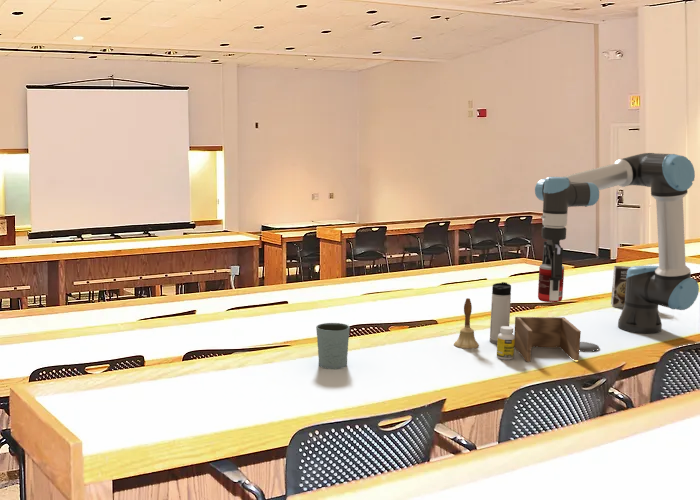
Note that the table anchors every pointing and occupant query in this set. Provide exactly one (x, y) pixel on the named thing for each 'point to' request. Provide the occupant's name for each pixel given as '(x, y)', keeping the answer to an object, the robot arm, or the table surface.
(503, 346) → the supplement bottle
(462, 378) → the table surface
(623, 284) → the coffee box
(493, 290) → the travel mug
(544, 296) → the canned food
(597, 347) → the slate coaster
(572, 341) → the walnut u-shaped bracket
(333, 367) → the grey-green cup
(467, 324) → the hand bell
